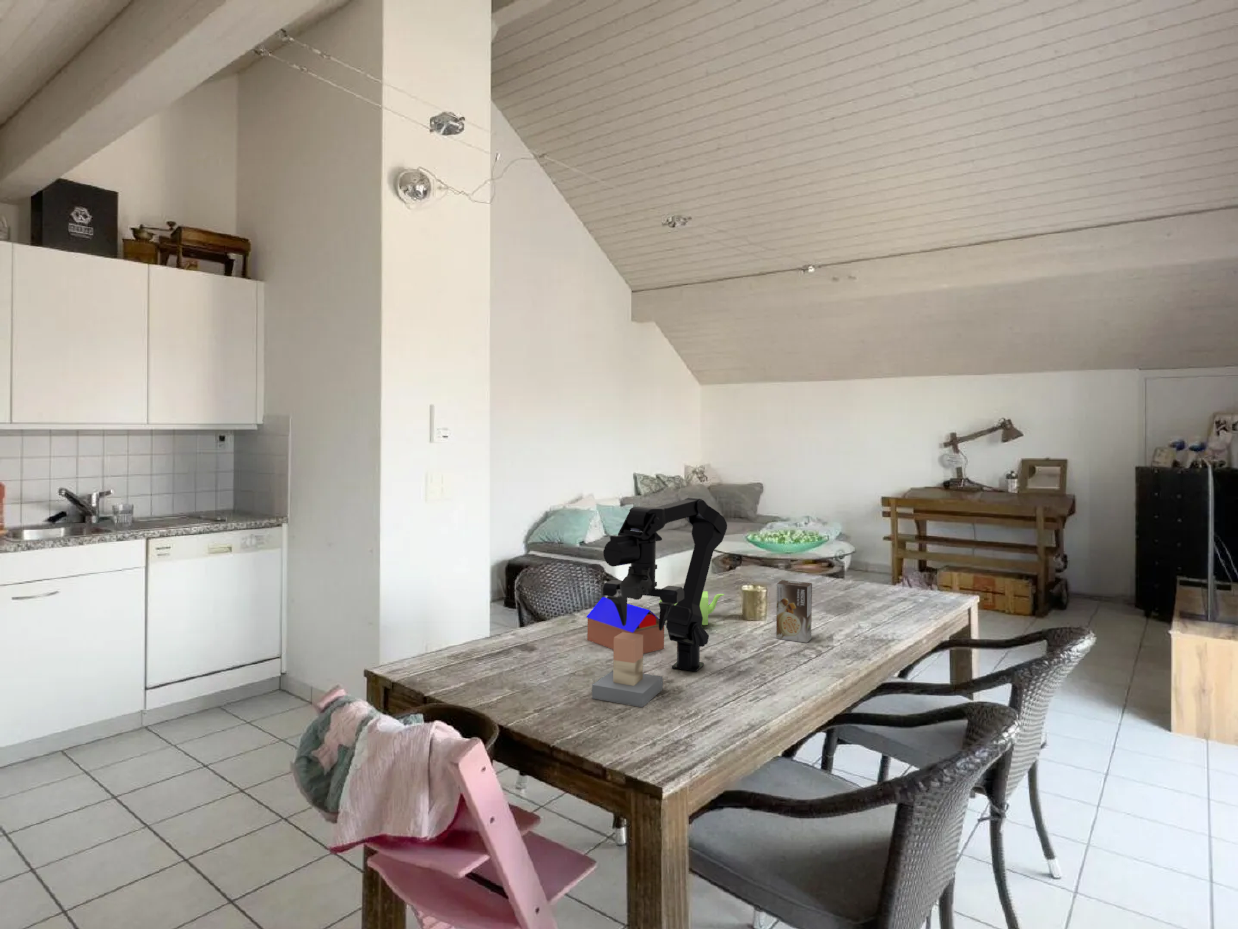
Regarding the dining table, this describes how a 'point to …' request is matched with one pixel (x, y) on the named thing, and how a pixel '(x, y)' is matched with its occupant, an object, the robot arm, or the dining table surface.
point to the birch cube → (627, 672)
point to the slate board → (627, 690)
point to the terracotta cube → (628, 647)
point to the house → (609, 625)
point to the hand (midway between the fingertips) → (642, 627)
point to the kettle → (706, 606)
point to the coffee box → (794, 611)
